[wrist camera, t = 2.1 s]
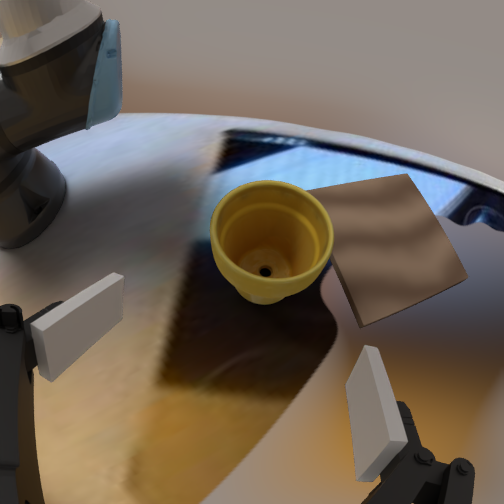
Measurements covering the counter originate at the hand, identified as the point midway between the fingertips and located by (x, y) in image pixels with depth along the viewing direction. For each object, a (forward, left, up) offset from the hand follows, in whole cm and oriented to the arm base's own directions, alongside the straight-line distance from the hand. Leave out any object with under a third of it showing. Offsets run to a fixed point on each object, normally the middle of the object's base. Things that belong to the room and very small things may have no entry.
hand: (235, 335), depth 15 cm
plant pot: (-9, +6, -15) cm, 19 cm away
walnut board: (-9, +23, -15) cm, 29 cm away
